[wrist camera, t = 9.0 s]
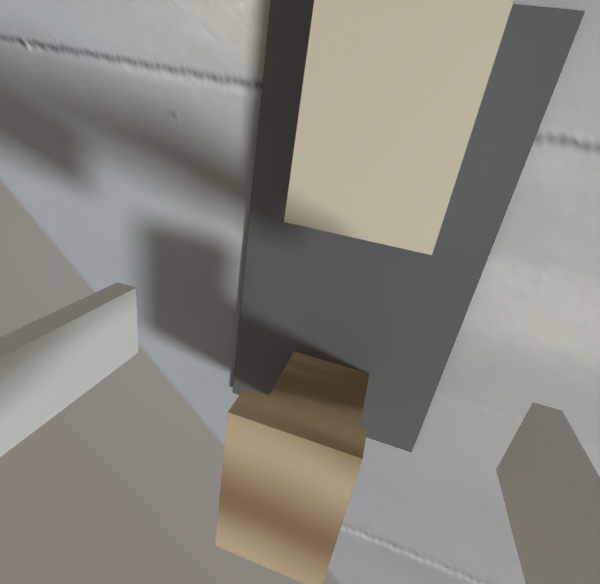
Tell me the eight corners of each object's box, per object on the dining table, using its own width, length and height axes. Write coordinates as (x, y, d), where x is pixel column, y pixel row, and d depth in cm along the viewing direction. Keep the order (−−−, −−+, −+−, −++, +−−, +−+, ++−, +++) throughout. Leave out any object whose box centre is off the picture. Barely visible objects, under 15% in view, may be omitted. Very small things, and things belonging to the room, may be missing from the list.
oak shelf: (304, 301, 23) (227, 412, 13) (383, 322, 22) (362, 459, 12) (286, 400, 26) (215, 545, 16) (355, 422, 25) (320, 590, 16)
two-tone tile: (283, 221, 17) (301, 211, 20) (431, 255, 16) (429, 239, 19) (320, -44, 13) (335, -12, 16) (523, -29, 12) (502, 2, 15)
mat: (275, -15, 17) (272, -18, 17) (580, 14, 14) (585, 11, 14) (234, 389, 27) (232, 392, 26) (411, 447, 24) (411, 452, 24)
